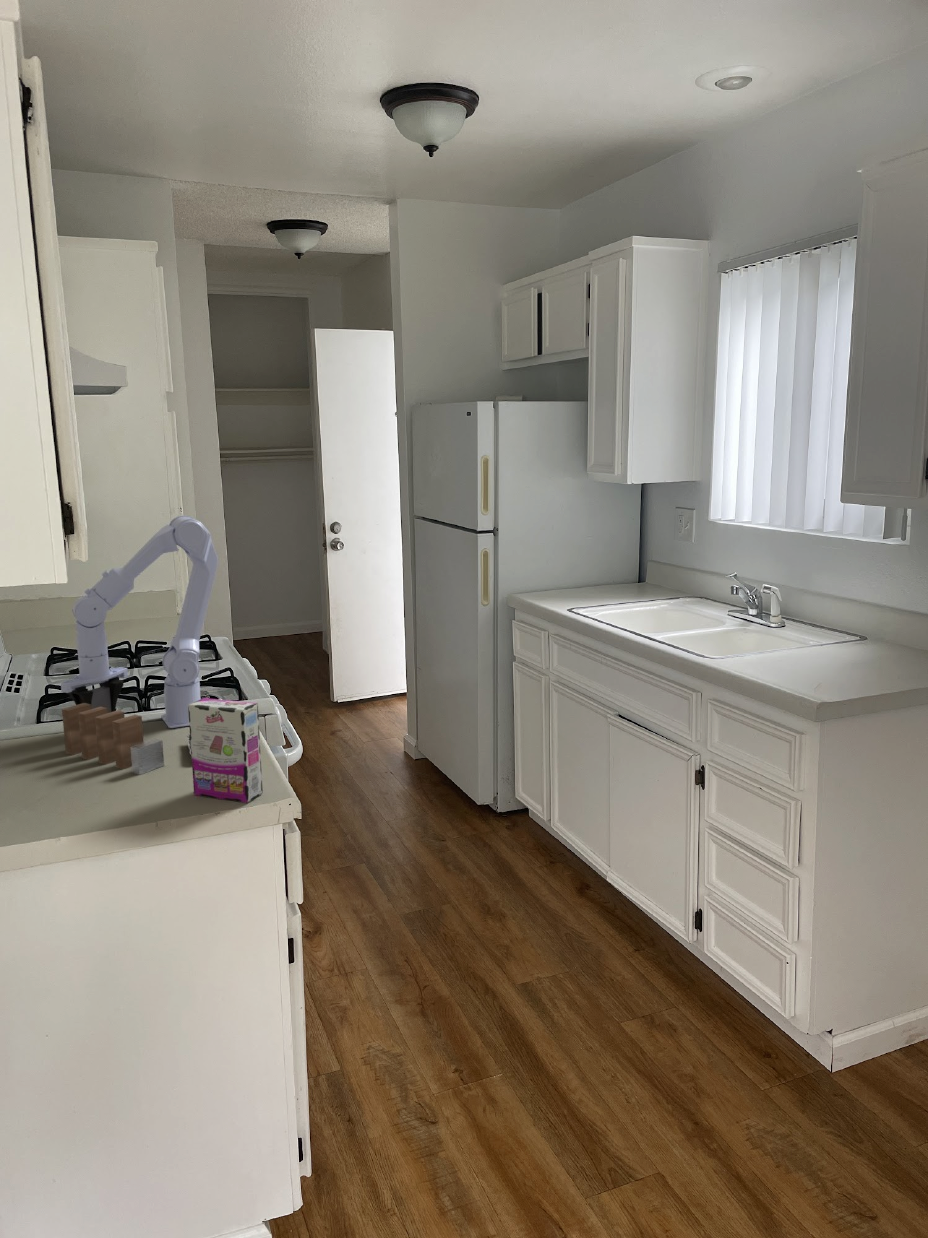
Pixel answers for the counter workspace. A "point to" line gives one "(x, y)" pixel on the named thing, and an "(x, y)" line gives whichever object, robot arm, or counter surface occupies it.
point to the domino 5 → (126, 739)
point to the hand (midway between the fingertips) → (98, 718)
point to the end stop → (147, 756)
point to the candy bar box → (225, 749)
